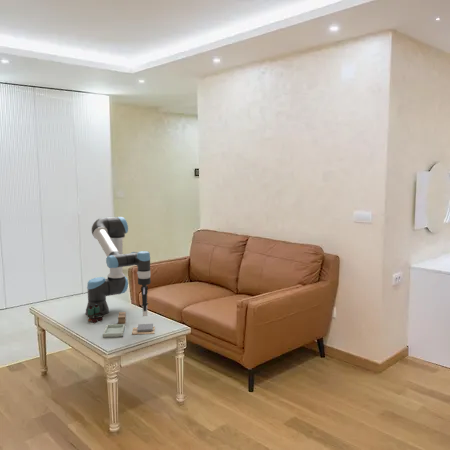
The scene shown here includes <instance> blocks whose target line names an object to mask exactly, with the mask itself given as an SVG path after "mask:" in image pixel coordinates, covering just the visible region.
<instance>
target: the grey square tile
mask: <svg viewBox="0 0 450 450" xmlns="http://www.w3.org/2000/svg"><path fill="white" fill-rule="evenodd" d="M137 327H138V328H137ZM137 327H136V328H137V332H146V331H153V327H154V323H138V325H137Z"/></svg>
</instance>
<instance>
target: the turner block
mask: <svg viewBox="0 0 450 450" xmlns="http://www.w3.org/2000/svg"><path fill="white" fill-rule="evenodd" d="M126 314H127V312H126V311H119V312H118V316H117V320H118V322H117V324H125V325H126V323H127V317H126V316H127V315H126Z"/></svg>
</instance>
